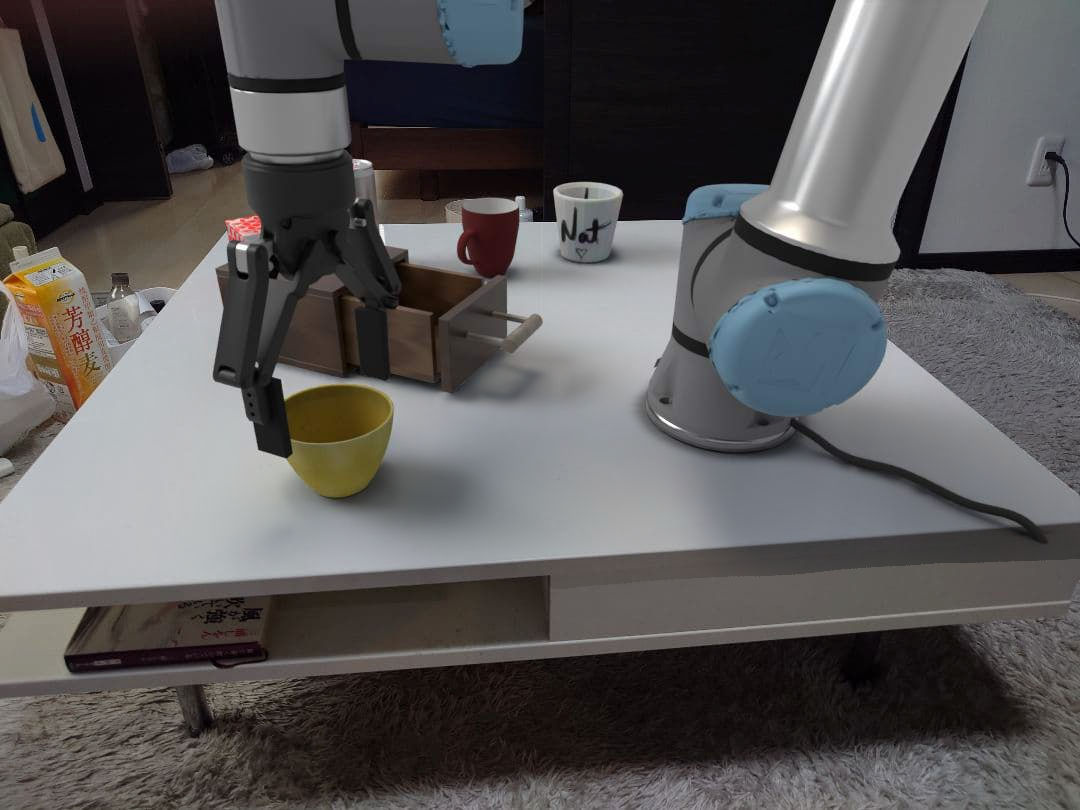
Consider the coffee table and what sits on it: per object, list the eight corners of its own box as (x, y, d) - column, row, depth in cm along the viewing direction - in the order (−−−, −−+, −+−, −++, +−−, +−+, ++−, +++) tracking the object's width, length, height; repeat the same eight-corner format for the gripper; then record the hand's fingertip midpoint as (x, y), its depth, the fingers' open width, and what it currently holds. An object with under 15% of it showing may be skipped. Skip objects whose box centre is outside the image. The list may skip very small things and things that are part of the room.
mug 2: (547, 264, 116) (549, 197, 111) (558, 233, 129) (560, 172, 124) (616, 268, 115) (621, 201, 110) (621, 237, 128) (625, 176, 123)
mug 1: (489, 293, 106) (488, 222, 101) (442, 281, 110) (438, 212, 104) (529, 270, 114) (530, 203, 109) (484, 260, 117) (483, 194, 112)
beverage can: (341, 276, 111) (329, 169, 103) (341, 262, 116) (329, 159, 108) (384, 273, 112) (374, 168, 104) (381, 259, 117) (372, 158, 109)
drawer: (553, 352, 89) (555, 284, 85) (502, 406, 78) (501, 331, 74) (401, 320, 96) (396, 256, 91) (336, 366, 85) (326, 296, 81)
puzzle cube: (289, 264, 114) (281, 211, 110) (309, 280, 109) (301, 225, 105) (235, 275, 110) (224, 220, 106) (253, 292, 105) (242, 236, 101)
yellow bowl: (388, 440, 74) (381, 375, 70) (411, 502, 66) (405, 431, 62) (278, 460, 71) (265, 392, 67) (288, 527, 63) (274, 454, 59)
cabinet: (413, 327, 96) (408, 249, 91) (343, 378, 85) (332, 292, 79) (311, 305, 101) (300, 230, 96) (231, 350, 90) (214, 268, 85)
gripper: (356, 116, 65) (376, 343, 76) (106, 184, 45) (181, 478, 56) (433, 126, 63) (443, 359, 73) (205, 201, 43) (264, 506, 54)
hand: (329, 411), depth 65 cm, fingers open, 13 cm apart
